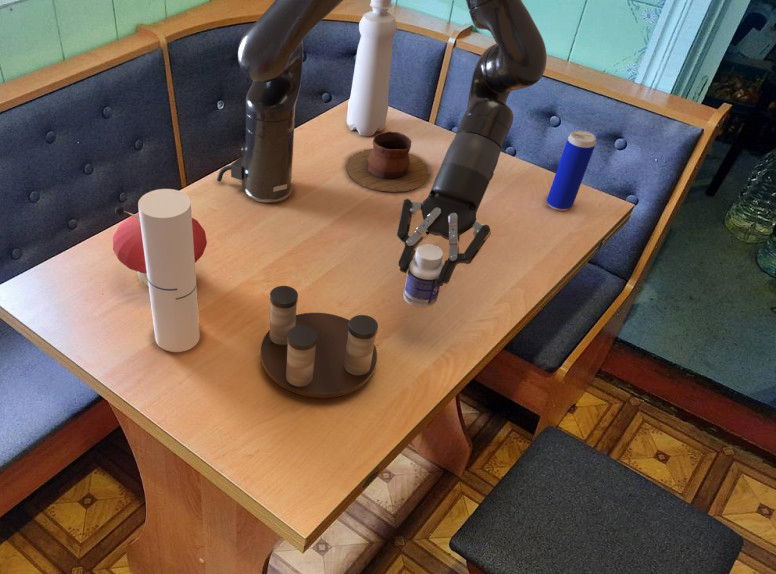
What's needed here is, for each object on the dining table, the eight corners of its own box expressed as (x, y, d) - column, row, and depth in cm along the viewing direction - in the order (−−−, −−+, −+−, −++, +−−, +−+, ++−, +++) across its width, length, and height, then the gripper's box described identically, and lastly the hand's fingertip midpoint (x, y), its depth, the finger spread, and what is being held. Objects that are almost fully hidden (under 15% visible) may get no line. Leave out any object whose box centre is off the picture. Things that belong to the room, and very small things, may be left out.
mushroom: (196, 244, 135) (192, 172, 124) (218, 297, 124) (216, 223, 114) (111, 259, 131) (99, 185, 120) (127, 314, 121) (115, 239, 110)
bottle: (363, 115, 172) (379, -23, 150) (393, 129, 168) (414, -11, 146) (337, 127, 167) (350, -13, 146) (367, 142, 163) (385, 0, 141)
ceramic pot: (434, 194, 149) (441, 163, 144) (348, 191, 149) (351, 160, 144) (423, 150, 161) (429, 120, 156) (343, 147, 161) (346, 117, 156)
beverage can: (572, 200, 149) (598, 132, 138) (571, 214, 145) (597, 145, 134) (546, 195, 150) (570, 127, 139) (544, 208, 146) (568, 139, 135)
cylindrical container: (155, 322, 119) (139, 189, 101) (199, 321, 120) (190, 188, 102) (154, 353, 114) (136, 218, 96) (200, 351, 115) (190, 217, 97)
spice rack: (284, 410, 105) (286, 364, 98) (245, 330, 116) (245, 284, 110) (396, 381, 109) (406, 335, 103) (347, 307, 121) (353, 261, 114)
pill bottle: (435, 311, 112) (446, 265, 105) (401, 306, 112) (410, 260, 106) (437, 289, 115) (448, 243, 109) (404, 285, 116) (413, 239, 109)
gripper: (416, 149, 106) (372, 257, 108) (511, 177, 102) (463, 290, 103) (424, 166, 113) (382, 267, 115) (514, 193, 109) (468, 298, 110)
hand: (421, 277), depth 109 cm, fingers closed on pill bottle, 5 cm apart
